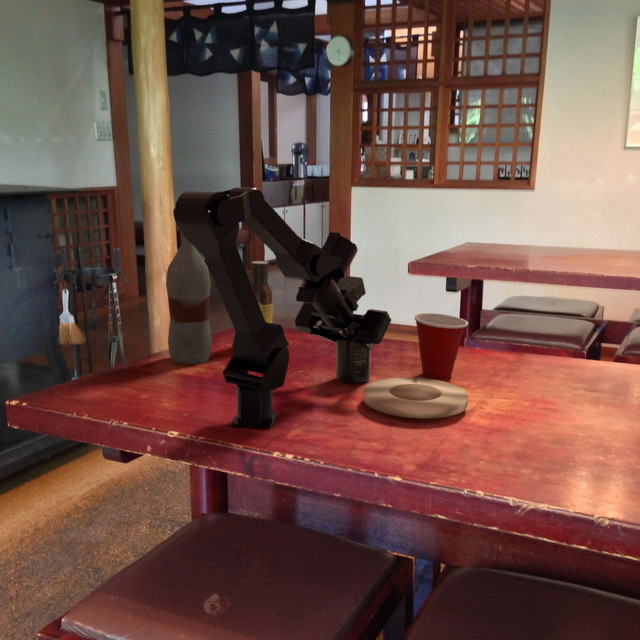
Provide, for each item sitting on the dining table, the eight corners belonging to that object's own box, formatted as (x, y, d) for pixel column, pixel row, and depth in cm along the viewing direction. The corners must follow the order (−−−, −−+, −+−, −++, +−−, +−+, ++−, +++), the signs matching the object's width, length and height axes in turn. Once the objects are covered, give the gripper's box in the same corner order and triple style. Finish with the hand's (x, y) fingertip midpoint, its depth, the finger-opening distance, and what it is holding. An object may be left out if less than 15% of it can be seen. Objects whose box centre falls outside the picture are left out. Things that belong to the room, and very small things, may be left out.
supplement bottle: (370, 375, 135) (372, 317, 133) (369, 385, 129) (371, 324, 126) (336, 373, 136) (337, 316, 133) (333, 383, 129) (335, 323, 127)
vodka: (161, 363, 141) (156, 220, 135) (176, 352, 150) (172, 218, 144) (204, 366, 140) (201, 221, 134) (217, 355, 149) (215, 219, 143)
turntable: (472, 421, 107) (473, 411, 107) (360, 414, 109) (360, 405, 109) (463, 387, 125) (463, 379, 124) (366, 382, 127) (366, 374, 126)
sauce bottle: (242, 343, 160) (241, 260, 156) (266, 341, 163) (266, 259, 158) (251, 349, 154) (250, 263, 150) (276, 347, 157) (276, 262, 153)
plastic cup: (461, 385, 129) (464, 325, 127) (406, 379, 133) (408, 320, 130) (468, 371, 139) (472, 314, 137) (417, 365, 143) (419, 310, 140)
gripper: (388, 268, 119) (413, 318, 130) (303, 259, 129) (334, 307, 141) (364, 318, 114) (392, 366, 126) (278, 305, 125) (312, 351, 136)
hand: (357, 345), depth 132 cm, fingers closed on supplement bottle, 7 cm apart
